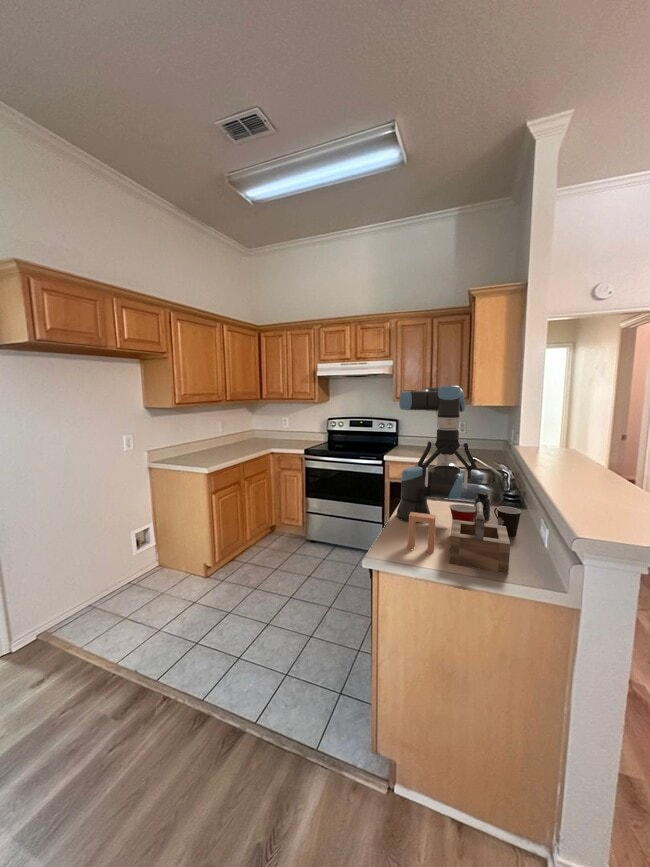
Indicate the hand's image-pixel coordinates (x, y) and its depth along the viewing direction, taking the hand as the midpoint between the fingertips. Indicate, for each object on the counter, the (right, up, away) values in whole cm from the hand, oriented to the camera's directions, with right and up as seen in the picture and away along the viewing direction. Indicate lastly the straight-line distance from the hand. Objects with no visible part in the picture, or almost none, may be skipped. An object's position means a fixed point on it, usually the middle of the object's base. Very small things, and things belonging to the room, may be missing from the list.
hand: (445, 486), depth 129 cm
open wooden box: (+9, -24, -5) cm, 27 cm away
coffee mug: (+31, -22, +17) cm, 41 cm away
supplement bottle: (+28, -20, +33) cm, 48 cm away
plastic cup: (+12, -22, +14) cm, 29 cm away
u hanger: (-8, -23, +2) cm, 25 cm away
